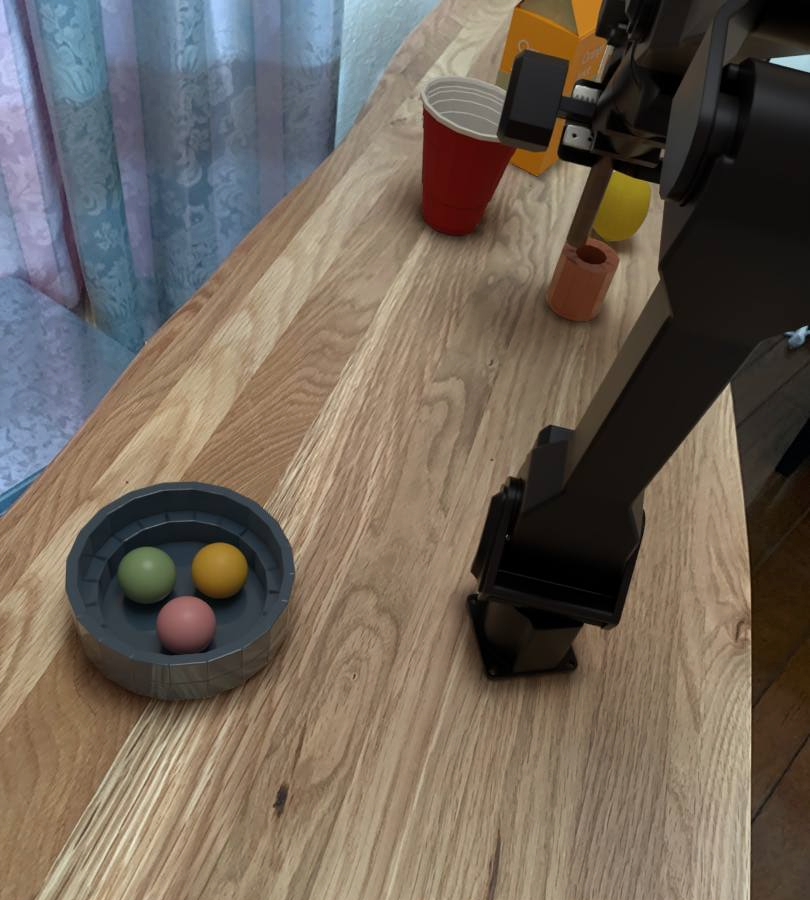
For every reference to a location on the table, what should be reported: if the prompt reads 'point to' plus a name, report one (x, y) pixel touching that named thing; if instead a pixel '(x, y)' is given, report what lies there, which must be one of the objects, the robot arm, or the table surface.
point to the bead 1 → (146, 575)
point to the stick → (590, 200)
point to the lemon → (622, 207)
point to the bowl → (180, 589)
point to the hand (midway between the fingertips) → (602, 159)
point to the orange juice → (557, 34)
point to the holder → (582, 280)
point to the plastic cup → (460, 151)
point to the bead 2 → (186, 625)
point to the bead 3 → (219, 570)
